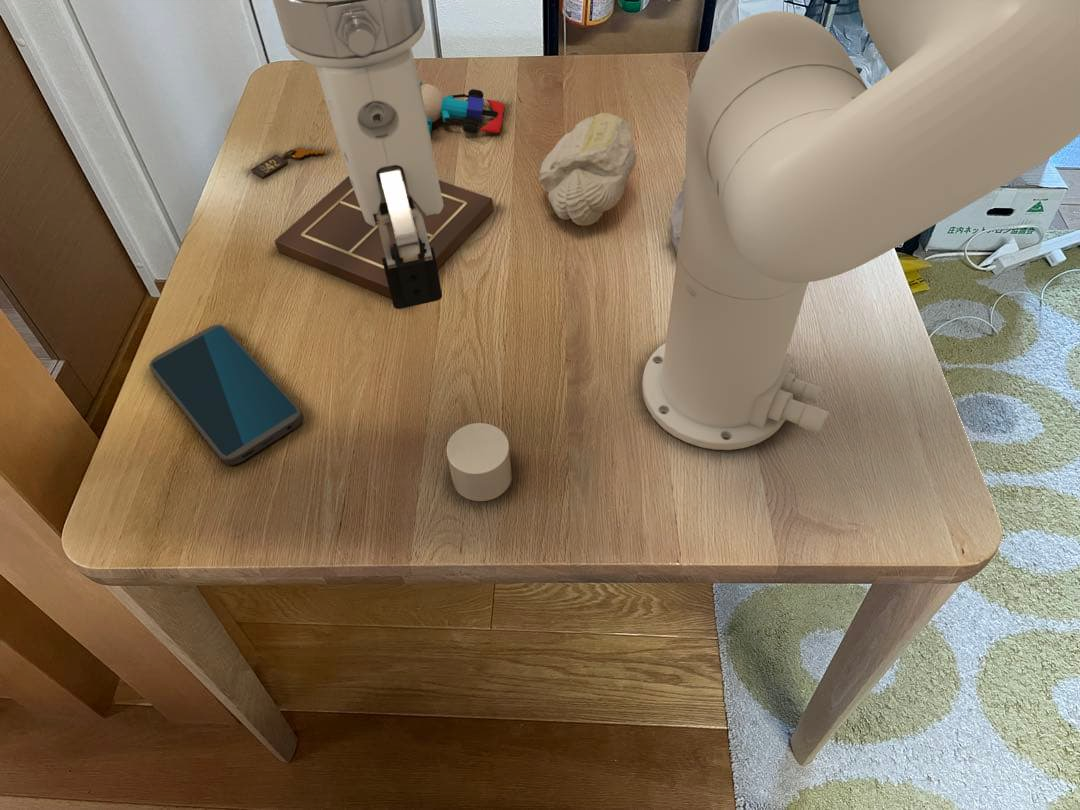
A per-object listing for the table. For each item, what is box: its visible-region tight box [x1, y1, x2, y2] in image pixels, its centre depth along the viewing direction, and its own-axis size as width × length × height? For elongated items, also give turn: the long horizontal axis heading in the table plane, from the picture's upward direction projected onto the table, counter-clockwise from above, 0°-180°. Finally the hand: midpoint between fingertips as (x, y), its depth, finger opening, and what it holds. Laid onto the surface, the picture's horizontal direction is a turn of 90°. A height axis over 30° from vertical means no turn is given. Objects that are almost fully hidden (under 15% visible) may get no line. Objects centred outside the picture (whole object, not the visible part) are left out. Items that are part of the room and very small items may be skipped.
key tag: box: [250, 147, 326, 179], centre depth 93 cm, size 8×3×1 cm, turn 124°
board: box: [274, 175, 495, 299], centre depth 85 cm, size 16×16×2 cm
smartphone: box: [149, 324, 304, 466], centre depth 72 cm, size 8×15×1 cm, turn 42°
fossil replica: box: [538, 112, 638, 227], centre depth 84 cm, size 12×8×10 cm
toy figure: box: [419, 80, 506, 138], centre depth 96 cm, size 8×5×15 cm
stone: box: [446, 422, 513, 502], centre depth 64 cm, size 5×5×4 cm
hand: (405, 254), depth 56 cm, fingers open, 9 cm apart
